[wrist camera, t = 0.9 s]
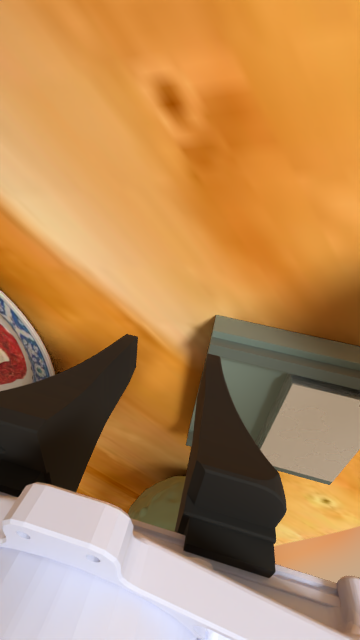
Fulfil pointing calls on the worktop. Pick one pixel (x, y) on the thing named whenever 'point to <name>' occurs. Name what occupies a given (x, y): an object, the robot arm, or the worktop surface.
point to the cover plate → (312, 427)
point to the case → (274, 368)
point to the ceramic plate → (20, 349)
